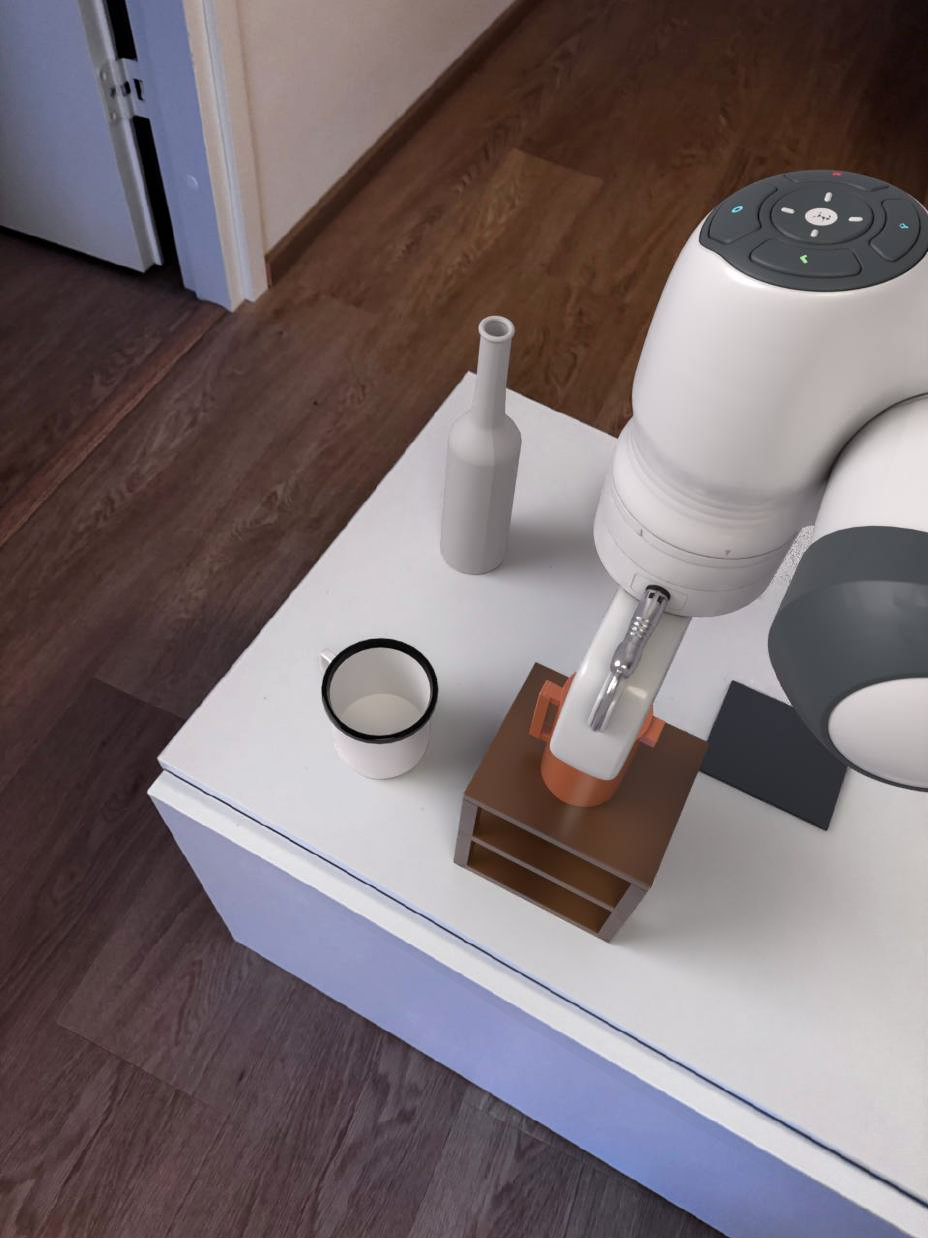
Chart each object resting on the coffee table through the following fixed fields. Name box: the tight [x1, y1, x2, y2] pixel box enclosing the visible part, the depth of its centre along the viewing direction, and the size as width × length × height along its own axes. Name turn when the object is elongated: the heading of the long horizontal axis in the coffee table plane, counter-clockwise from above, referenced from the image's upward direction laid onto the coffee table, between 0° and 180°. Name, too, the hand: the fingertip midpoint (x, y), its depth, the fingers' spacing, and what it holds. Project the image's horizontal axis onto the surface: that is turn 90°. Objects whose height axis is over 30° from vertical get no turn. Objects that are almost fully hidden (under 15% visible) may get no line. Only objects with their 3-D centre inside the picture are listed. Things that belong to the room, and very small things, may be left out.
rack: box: [452, 661, 709, 944], centre depth 75 cm, size 14×12×15 cm
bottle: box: [439, 315, 523, 575], centre depth 85 cm, size 7×7×28 cm
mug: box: [318, 637, 440, 780], centre depth 82 cm, size 12×10×9 cm
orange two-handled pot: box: [529, 670, 667, 807], centre depth 64 cm, size 8×6×10 cm
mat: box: [698, 679, 849, 832], centre depth 87 cm, size 12×10×1 cm
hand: (631, 666), depth 56 cm, fingers open, 8 cm apart
